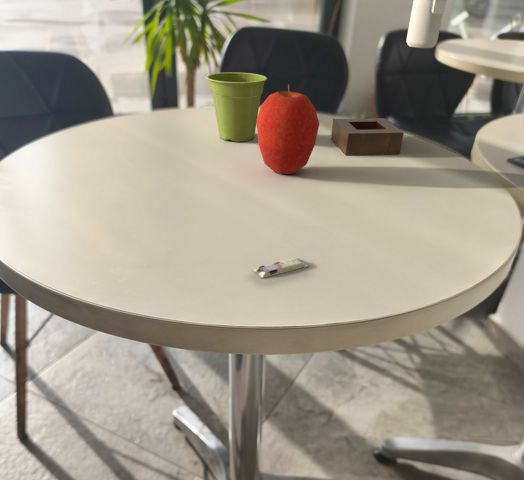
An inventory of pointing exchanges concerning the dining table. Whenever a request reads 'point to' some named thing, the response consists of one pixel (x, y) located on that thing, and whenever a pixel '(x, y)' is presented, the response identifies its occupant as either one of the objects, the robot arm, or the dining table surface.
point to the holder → (366, 136)
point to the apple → (287, 131)
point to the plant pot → (236, 103)
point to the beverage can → (423, 25)
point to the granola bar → (279, 267)
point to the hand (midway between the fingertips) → (427, 11)
